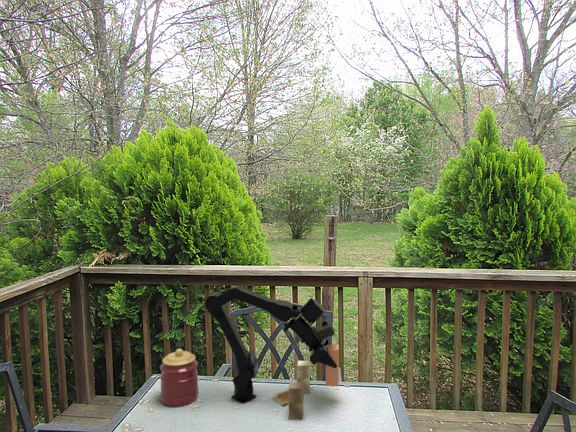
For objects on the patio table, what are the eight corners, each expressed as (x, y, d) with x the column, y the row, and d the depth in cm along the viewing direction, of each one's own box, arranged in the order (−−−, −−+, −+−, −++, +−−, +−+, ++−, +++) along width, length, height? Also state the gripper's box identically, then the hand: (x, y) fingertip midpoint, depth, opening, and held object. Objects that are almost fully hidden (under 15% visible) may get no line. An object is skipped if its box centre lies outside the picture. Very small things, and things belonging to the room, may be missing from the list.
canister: (192, 407, 132) (192, 356, 131) (154, 407, 132) (154, 355, 132) (202, 389, 145) (201, 342, 144) (167, 389, 145) (167, 342, 145)
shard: (295, 391, 144) (295, 386, 144) (309, 399, 138) (309, 394, 138) (271, 400, 138) (271, 395, 137) (284, 409, 131) (284, 403, 131)
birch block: (297, 392, 142) (297, 365, 142) (298, 387, 146) (298, 360, 146) (309, 393, 142) (309, 365, 141) (309, 387, 146) (309, 361, 146)
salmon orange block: (325, 385, 133) (325, 349, 133) (325, 380, 137) (326, 344, 137) (338, 386, 132) (338, 349, 132) (338, 380, 137) (338, 345, 137)
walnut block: (288, 419, 124) (288, 388, 124) (290, 412, 129) (290, 382, 128) (302, 420, 124) (302, 388, 123) (303, 412, 128) (303, 382, 128)
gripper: (320, 323, 126) (354, 359, 125) (321, 308, 144) (351, 339, 143) (295, 346, 127) (329, 382, 126) (300, 329, 145) (329, 359, 144)
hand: (336, 364), depth 135 cm, fingers closed on salmon orange block, 4 cm apart
